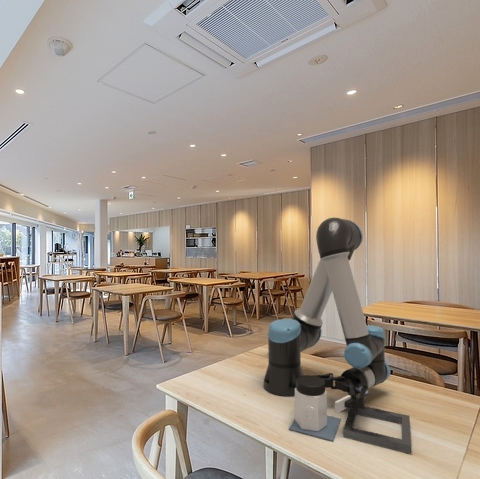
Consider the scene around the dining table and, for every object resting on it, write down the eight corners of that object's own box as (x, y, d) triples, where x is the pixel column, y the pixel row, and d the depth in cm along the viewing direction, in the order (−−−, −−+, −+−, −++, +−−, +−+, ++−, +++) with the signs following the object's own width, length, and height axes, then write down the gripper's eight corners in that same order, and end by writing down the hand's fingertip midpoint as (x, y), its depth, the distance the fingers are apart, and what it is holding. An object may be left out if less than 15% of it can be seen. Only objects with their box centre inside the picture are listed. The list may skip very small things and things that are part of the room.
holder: (343, 436, 84) (343, 429, 85) (351, 410, 99) (351, 403, 99) (411, 454, 77) (411, 445, 77) (409, 422, 92) (409, 415, 92)
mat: (288, 430, 88) (288, 428, 88) (300, 410, 98) (300, 409, 98) (333, 441, 82) (333, 440, 82) (340, 419, 93) (340, 418, 93)
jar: (293, 428, 88) (292, 384, 88) (296, 414, 96) (296, 373, 96) (326, 433, 85) (326, 388, 86) (327, 418, 93) (327, 377, 93)
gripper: (395, 406, 93) (355, 431, 80) (325, 379, 113) (283, 395, 100) (395, 380, 94) (354, 401, 81) (325, 357, 113) (283, 371, 100)
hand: (315, 398), depth 90 cm, fingers open, 13 cm apart
